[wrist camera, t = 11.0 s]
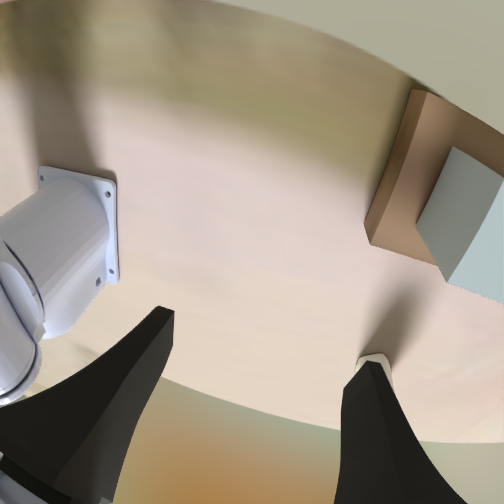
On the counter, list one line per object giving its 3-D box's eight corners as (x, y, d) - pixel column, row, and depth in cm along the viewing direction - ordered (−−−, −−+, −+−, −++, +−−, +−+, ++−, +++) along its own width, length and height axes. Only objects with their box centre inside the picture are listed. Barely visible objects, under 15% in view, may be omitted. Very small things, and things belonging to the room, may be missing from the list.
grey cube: (475, 253, 15) (510, 306, 11) (415, 226, 15) (446, 282, 11) (511, 183, 12) (561, 224, 8) (452, 145, 12) (504, 179, 8)
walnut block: (465, 256, 19) (481, 280, 16) (362, 220, 19) (369, 244, 16) (515, 147, 14) (540, 162, 11) (409, 88, 14) (427, 91, 11)
